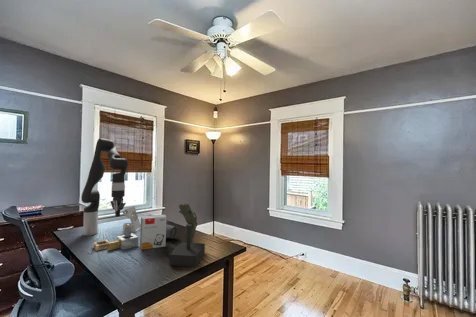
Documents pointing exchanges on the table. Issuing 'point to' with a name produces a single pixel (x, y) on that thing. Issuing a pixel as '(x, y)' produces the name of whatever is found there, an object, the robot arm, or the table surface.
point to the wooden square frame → (100, 245)
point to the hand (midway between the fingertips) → (117, 216)
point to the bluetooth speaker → (171, 231)
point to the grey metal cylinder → (127, 231)
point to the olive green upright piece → (189, 219)
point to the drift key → (114, 245)
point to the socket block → (128, 241)
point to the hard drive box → (153, 231)
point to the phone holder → (132, 219)
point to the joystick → (187, 252)
